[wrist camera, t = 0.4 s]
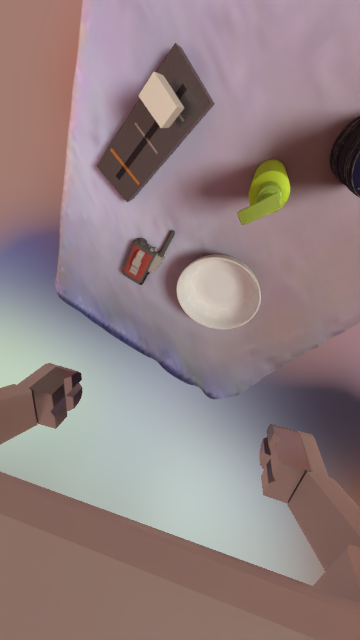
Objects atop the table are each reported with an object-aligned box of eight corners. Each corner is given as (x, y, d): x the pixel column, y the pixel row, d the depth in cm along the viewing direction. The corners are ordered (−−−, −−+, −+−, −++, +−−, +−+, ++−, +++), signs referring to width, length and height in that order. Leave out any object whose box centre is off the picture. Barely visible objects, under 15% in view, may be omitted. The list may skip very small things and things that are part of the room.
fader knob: (169, 77, 37) (153, 71, 32) (188, 108, 39) (177, 106, 34) (154, 98, 39) (138, 95, 34) (173, 127, 41) (160, 128, 36)
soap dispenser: (243, 174, 45) (230, 199, 31) (280, 151, 41) (285, 169, 27) (254, 203, 48) (247, 239, 33) (290, 184, 44) (299, 216, 30)
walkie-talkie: (148, 286, 70) (179, 231, 57) (143, 294, 67) (173, 238, 53) (123, 270, 69) (148, 210, 55) (116, 277, 66) (141, 216, 52)
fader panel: (181, 47, 37) (175, 42, 35) (214, 103, 40) (211, 102, 38) (104, 164, 51) (96, 166, 49) (133, 198, 54) (127, 202, 52)
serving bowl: (241, 230, 52) (238, 241, 47) (273, 301, 61) (274, 318, 56) (169, 265, 63) (160, 278, 58) (205, 321, 72) (200, 336, 67)
